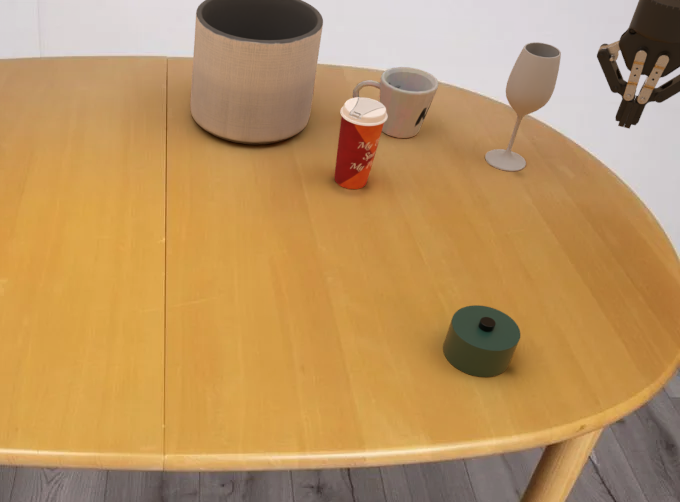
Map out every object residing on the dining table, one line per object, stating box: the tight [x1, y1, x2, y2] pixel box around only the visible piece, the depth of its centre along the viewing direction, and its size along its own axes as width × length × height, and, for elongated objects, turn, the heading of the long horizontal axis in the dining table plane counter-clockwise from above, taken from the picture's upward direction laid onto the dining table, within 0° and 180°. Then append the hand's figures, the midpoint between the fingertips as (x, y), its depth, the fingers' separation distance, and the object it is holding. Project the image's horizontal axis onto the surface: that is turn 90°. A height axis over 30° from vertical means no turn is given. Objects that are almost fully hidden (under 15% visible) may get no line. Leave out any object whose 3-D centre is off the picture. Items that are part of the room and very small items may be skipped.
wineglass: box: [484, 41, 562, 173], centre depth 151 cm, size 8×8×21 cm
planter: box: [189, 0, 324, 145], centre depth 159 cm, size 23×23×20 cm
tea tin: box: [442, 304, 521, 378], centre depth 118 cm, size 9×9×6 cm
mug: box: [352, 66, 440, 139], centre depth 162 cm, size 10×15×10 cm
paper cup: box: [334, 96, 387, 190], centre depth 147 cm, size 8×8×14 cm
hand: (624, 124), depth 115 cm, fingers closed
